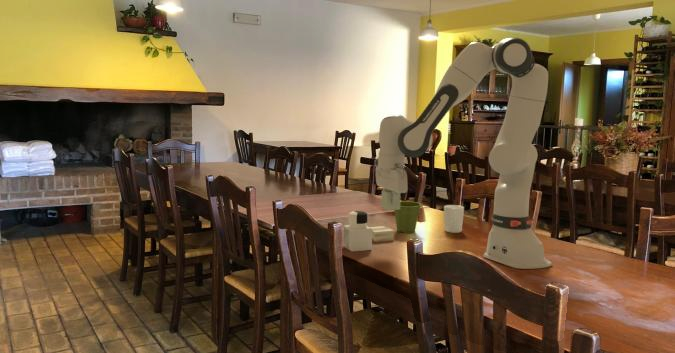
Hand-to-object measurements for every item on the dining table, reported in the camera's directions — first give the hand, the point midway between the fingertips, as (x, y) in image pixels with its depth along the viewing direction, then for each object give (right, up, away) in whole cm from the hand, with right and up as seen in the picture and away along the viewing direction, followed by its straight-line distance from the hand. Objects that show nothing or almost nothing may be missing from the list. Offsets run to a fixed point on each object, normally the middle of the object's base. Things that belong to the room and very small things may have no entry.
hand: (390, 202), depth 185 cm
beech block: (-3, -15, +17) cm, 23 cm away
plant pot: (+9, -13, +30) cm, 34 cm away
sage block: (0, -2, 0) cm, 2 cm away
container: (-11, -16, +2) cm, 20 cm away
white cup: (+28, -13, +31) cm, 44 cm away
